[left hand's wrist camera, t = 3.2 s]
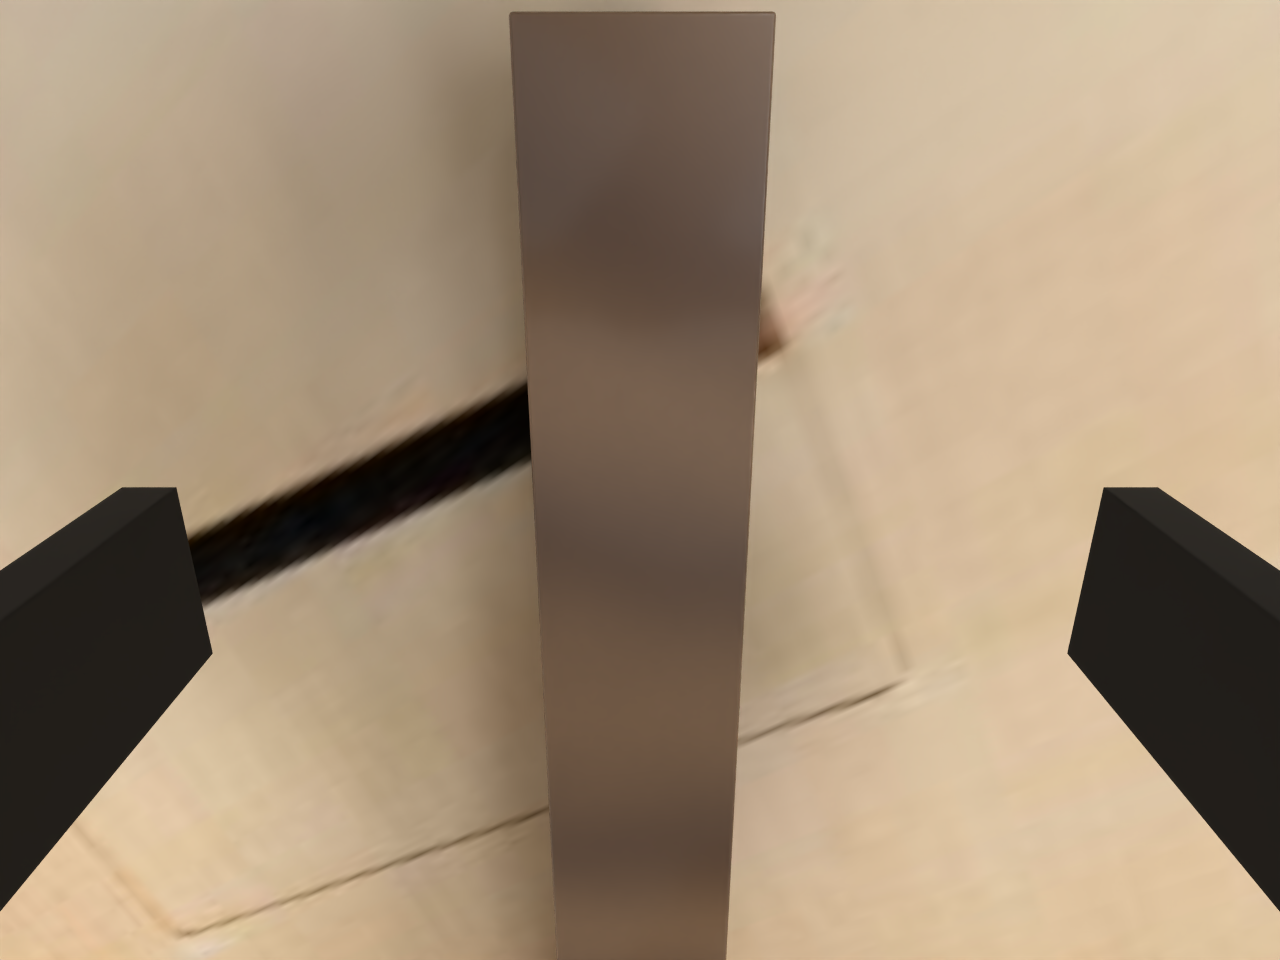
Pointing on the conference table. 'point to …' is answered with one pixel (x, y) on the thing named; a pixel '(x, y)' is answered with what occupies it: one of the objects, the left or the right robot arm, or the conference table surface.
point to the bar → (642, 450)
